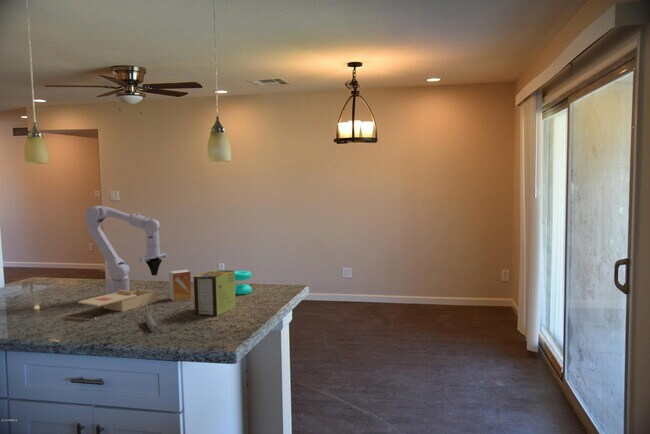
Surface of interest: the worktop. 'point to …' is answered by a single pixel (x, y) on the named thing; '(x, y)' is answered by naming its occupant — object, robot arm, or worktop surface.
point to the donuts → (242, 287)
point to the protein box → (214, 292)
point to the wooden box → (133, 301)
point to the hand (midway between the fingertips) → (154, 275)
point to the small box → (180, 285)
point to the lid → (109, 298)
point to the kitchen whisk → (148, 319)
